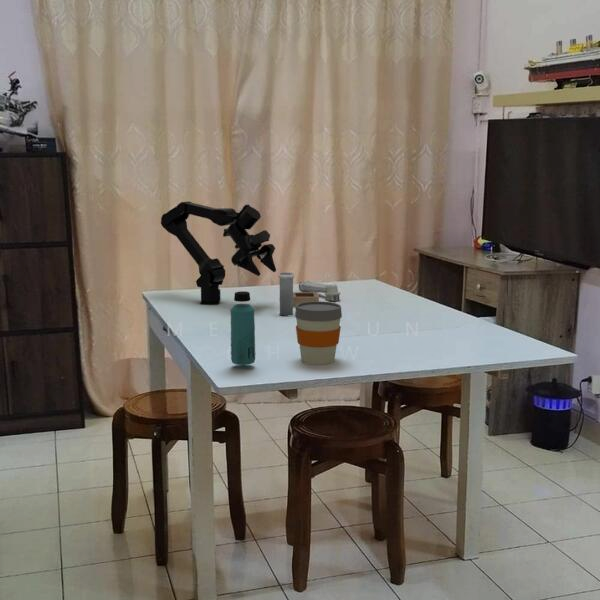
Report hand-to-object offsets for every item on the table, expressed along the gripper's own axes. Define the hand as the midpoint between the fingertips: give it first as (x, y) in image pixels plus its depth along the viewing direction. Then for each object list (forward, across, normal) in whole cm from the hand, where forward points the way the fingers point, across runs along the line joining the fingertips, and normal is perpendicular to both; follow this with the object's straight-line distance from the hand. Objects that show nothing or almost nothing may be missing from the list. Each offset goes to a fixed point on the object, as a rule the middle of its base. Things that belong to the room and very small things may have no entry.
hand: (267, 273), depth 272 cm
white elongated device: (+10, +34, +10) cm, 36 cm away
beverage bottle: (+34, -58, -15) cm, 69 cm away
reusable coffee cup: (+42, -41, -24) cm, 64 cm away
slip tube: (+15, 0, +4) cm, 16 cm away
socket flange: (+12, +17, +6) cm, 22 cm away
